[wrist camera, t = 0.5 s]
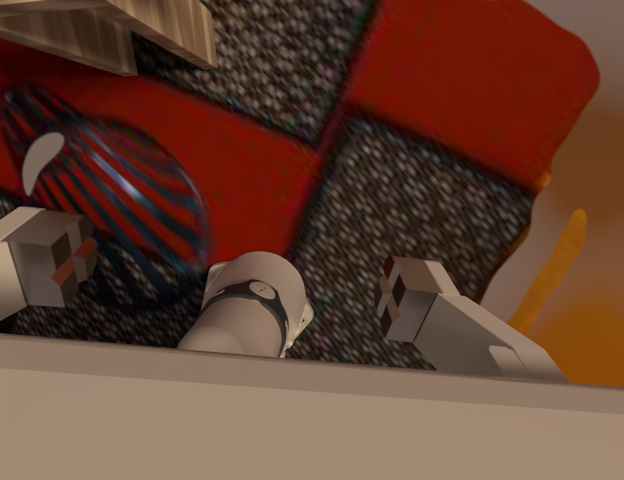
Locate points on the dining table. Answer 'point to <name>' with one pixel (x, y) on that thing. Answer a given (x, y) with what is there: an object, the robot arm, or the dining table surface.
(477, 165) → the dining table surface
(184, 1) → the birch shelf
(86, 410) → the robot arm
